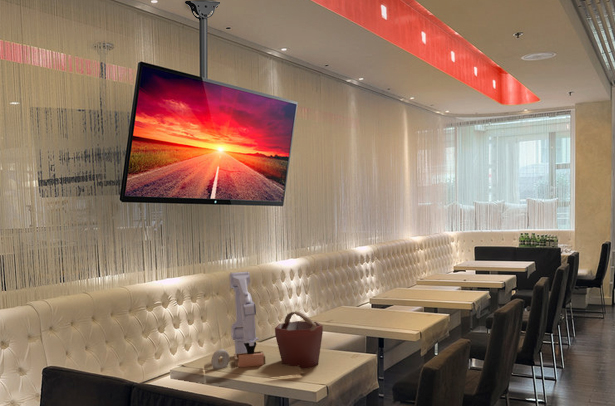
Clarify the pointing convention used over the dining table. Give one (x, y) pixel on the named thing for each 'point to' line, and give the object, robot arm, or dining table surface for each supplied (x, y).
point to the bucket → (299, 341)
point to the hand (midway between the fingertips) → (250, 358)
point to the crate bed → (236, 356)
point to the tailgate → (251, 360)
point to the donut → (216, 359)
